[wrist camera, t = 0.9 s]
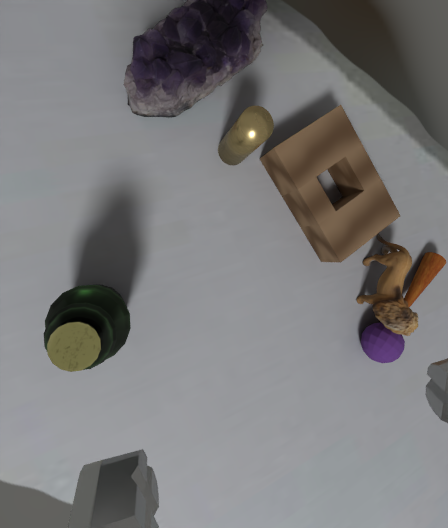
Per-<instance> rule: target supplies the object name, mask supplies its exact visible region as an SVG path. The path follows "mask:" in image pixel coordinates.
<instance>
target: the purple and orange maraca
mask: <svg viewBox="0 0 448 528" xmlns="http://www.w3.org/2000/svg"><path fill="white" fill-rule="evenodd" d="M445 264H446V260H445V259H444V258H443V257H442V256H441V255H439V254H436V253H433V252H427V253H425V255H424V257H423V259H422V261H421V263H420V265H419V268H418V270H417V272H416V274H415V276H414V278H413V280H412V283H411V285H410V287H409V289H408V291H407V293H406V295H405V298H404V300H405V301H407V302H408V306H409V307H410V306H411V305H412V304H413V302H414V301H415V300H416V299H417V298H418V296H419V295H420V294H421V293H422V292H423V290H424V289H425V288H426V287H427V286H428V284H429V283H430V282H431V281H432V280H433V278H434V277H435V276H436V275H437V274H438V272H439V271H440V270H441V269H442V268H443V266H444V265H445ZM404 343H405V341H404V339H403V336H402V334H396V333H393V332H392V331H391V330H390V329H387V328H386V327H385V326H384V324H383V323H382V322H380V323H374V324H371V325H370V326H368V327H366V329H365V330H364V332H363V333H362V338H361V345H362V348H363V351H364V352H365V353H366V355H367V356H368V357H369V358H371V359H372V360H374V361H377V362H381V363H388V362H393V361H395V360H396V359H398V358H399V357H400V355H401V354H402V352H403V350H404Z"/></svg>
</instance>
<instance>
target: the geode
mask: <svg viewBox="0 0 448 528" xmlns="http://www.w3.org/2000/svg"><path fill="white" fill-rule="evenodd" d="M266 11H267V3H266V1H265V0H187V2H186V3H185V4H184V6H182V7H181V8H175V9H173V10H172V11H171V12H170V13H169V15H168V16H167V17H166V18H165V19H163V20H161V21H160V22H159V23H158V24H157V25H156V26H155V27H154V29H148V30H147V31H146V32H145V33H144V34H143V35H140V36H136V37H134V41H133V58H132V63H131V64H130V65H128V66H127V69H126V73H125V79H124V86H125V88H126V90H127V93H128V105H129V106H130V107H131V110H132V112H133V113H134V114H136V115H140V116H144V117H176V116H178V115H179V114H181V113H182V112H183V111H185V110H187V109H189V108H191V107H192V106H193V105H194V104H195V103H196V102H198V101H199V100H200V99H202V98H205V97H206V96H208V95H209V94H210V93H212V92H213V91H214V89H215V88H216V87H217V86H218V85H219V86H222V85H223V84H224V83H225V82H226V81H228V80H230V79H231V78H232V77H233V76H234V75H235V74H236V73H238V72H239V71H241V70H242V69H244V68H245V67H246V66H247V65H249V64H251V63H252V62H253V61H254V60H255V59H256V58H257V56H258V54H259V53H260V51H261V47H262V46H263V44H261V43H262V41H261V37H260V34H259V32H260V30H261V26H260V20H261V17H262V16H263V14H264V13H265V12H266Z"/></svg>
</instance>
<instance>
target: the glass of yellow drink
mask: <svg viewBox="0 0 448 528" xmlns="http://www.w3.org/2000/svg"><path fill="white" fill-rule="evenodd" d="M273 128H274V123H273V119H272V117H271V115H270V113H269V112H268V111H267V110H266V109H264V108H263V107H260V106H250V107H248V108H247V109H245V110H244V112H243V113H242V114H241V115H240V117H239V118H238V119H237V121H236V122H235V123H234V125H233V126H232V127H231V129H230V130H229V131H228V133H227V134H226V135H225V137H224V138H223V139H222V141H221V142H220V144H219V147H218V153H219V156H220V158H221V160H222V161H223V162H225V163H226V164H228V165H237V164H239V163H241V162H242V161H243V160H244V159H245V158H246V157H247V156H249V155H250V154H251V153H252V152H253V151H254V150H255V149H257V148H258V147H259V146H260V145H261V144H262V143H263V142H265V141H266V140H267V139H268V138H269V137H270V136H271V134H272V132H273Z"/></svg>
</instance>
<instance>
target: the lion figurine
mask: <svg viewBox="0 0 448 528" xmlns="http://www.w3.org/2000/svg"><path fill="white" fill-rule="evenodd" d="M377 239H378V240H379V241H380V242H381V243H383V244H385V245H388V246H384V247H383V248H382V253H383V254H384V255H378V254H375V255H373V256H371V257H368V258H366V259H365V260H364V261H363V264H364V265H365V266H369V265H370V263H371V262H372V261H374V260H376V261H378V262H379V263H381V264H383V265H386V266H387V268H386V270H385V271H384V272H383V273H382V275H381V276H380V278H379V280H378V284H377V293H376V294H373V295H362V296H359V297H358V298H357V302H358V303H359V304H363V302H364V301H365V302H367V303H369V304H373V311H374V312H375V316H376V318H377V319H378V320H380V321H381V322H382V323H383V324H384V326H385V327H386V328H387V329H390V330H391V331H392V332H393V333H396V334H403V335H407V336H410V334H411V333H412V332H414V330H415V329H416V328H417V327H418V321H417V320H418V314H417V313H414V312H412V310H411V309H410V308H409V306H408V302H407V301H405V300H404V298H403V296H402V288H403V284H404V279H405V276H406V274H407V272H408V271H409V270H410V268H411V265H412V258H411V256H410V255H409V252H408V251H407V250H406V249H405V248H404V247H402V246H400V245H397V244H393V243H389V242H387V241H385V240H383V238H382V237H381V236H380V235H379V234H377ZM397 249H398V250H400V251H399V252H398V251H397ZM389 251H390V253H389V254H387V253H388V252H389Z"/></svg>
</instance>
